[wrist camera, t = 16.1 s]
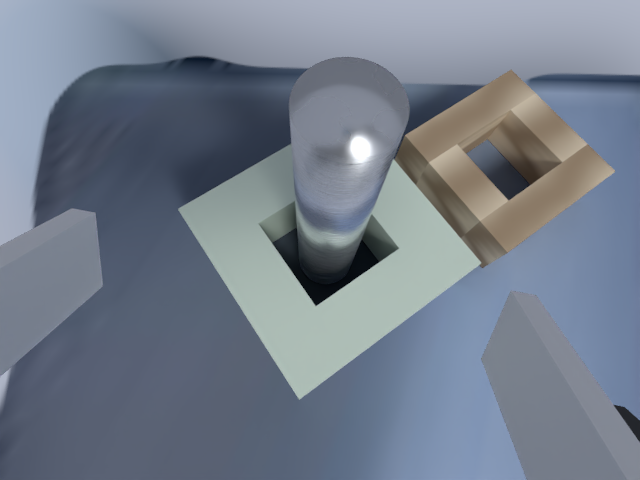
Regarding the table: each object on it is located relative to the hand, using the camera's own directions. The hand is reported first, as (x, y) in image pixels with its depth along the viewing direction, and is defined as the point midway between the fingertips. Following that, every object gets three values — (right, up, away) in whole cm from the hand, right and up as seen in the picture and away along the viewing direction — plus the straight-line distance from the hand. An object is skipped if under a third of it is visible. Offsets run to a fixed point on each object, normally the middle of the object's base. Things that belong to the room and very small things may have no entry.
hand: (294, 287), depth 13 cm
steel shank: (+1, 0, +17) cm, 18 cm away
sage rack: (+1, 0, +17) cm, 18 cm away
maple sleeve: (+15, +7, +20) cm, 26 cm away
